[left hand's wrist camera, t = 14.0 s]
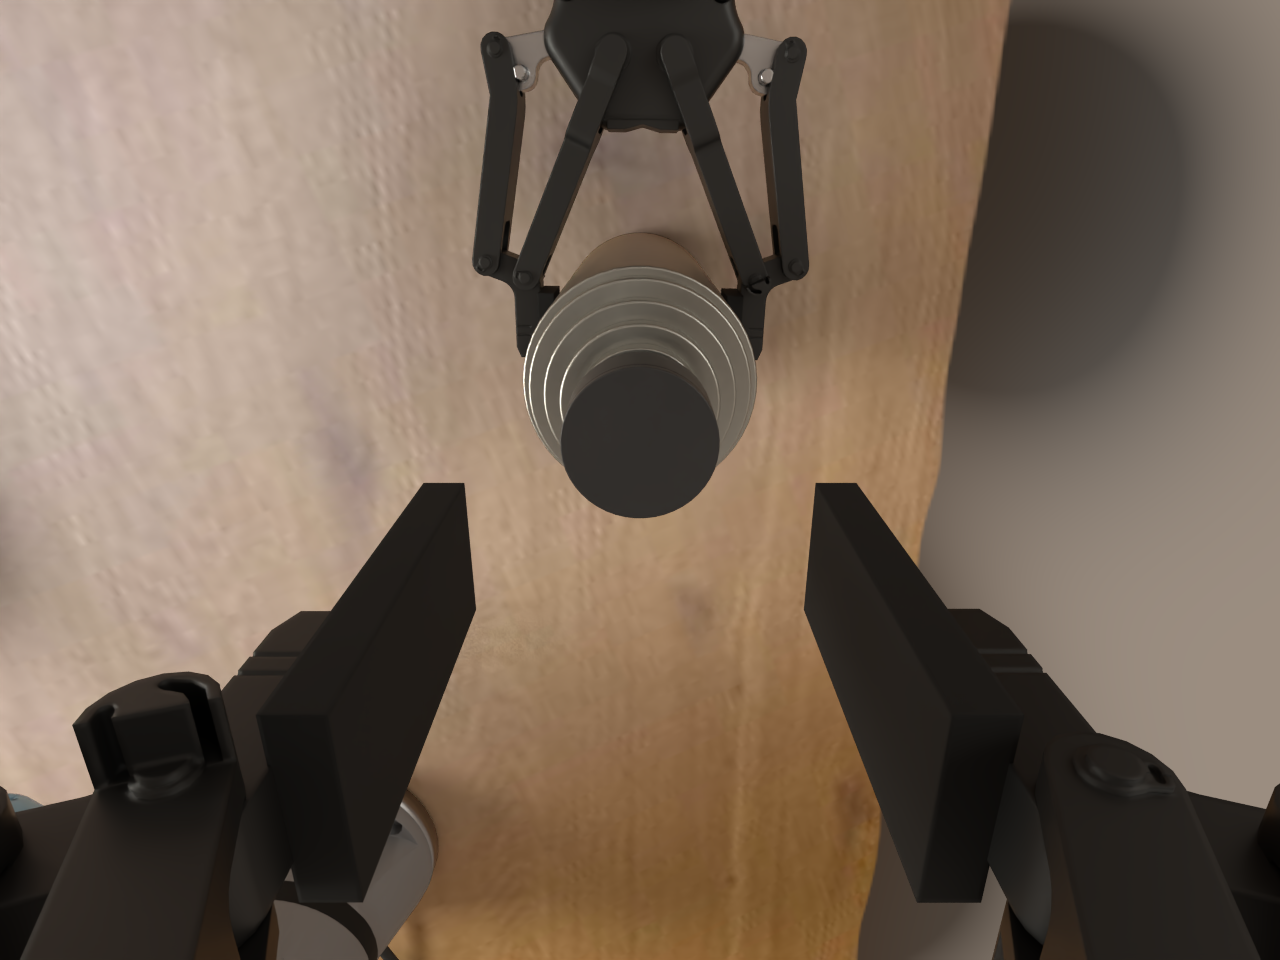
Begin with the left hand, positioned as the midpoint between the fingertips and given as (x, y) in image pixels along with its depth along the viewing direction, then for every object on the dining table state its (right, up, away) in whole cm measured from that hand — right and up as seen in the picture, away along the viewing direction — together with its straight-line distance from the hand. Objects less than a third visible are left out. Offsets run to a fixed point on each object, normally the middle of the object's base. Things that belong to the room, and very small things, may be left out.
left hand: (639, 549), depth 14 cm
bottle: (0, +11, +28) cm, 30 cm away
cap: (0, +2, +6) cm, 6 cm away
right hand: (0, +4, +24) cm, 24 cm away
